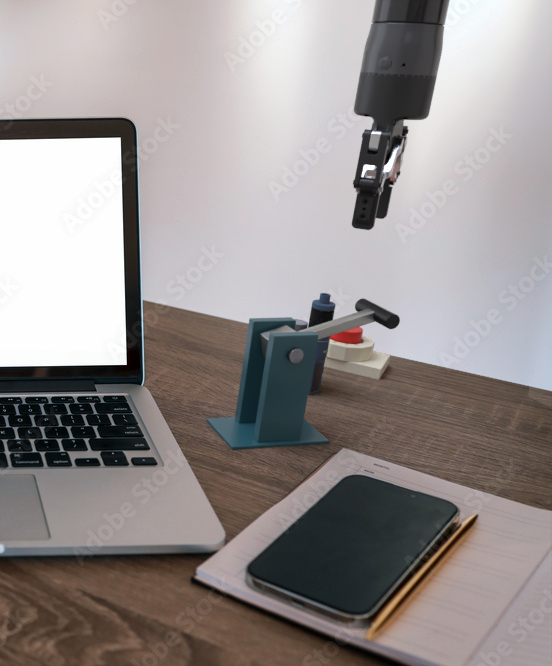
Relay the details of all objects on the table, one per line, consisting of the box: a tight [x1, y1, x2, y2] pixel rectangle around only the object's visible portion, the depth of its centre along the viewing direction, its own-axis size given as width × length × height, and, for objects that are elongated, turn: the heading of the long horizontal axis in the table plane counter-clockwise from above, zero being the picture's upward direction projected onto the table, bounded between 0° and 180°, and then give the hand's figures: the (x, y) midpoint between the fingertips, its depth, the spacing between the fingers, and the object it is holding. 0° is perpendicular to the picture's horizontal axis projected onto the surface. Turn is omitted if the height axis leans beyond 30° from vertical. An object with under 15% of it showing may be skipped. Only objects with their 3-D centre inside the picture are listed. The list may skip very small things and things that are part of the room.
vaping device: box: [293, 292, 336, 396], centre depth 85 cm, size 3×5×12 cm, turn 40°
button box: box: [324, 333, 391, 381], centre depth 94 cm, size 10×6×4 cm, turn 58°
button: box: [330, 326, 364, 344], centre depth 93 cm, size 4×4×2 cm
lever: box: [260, 298, 401, 358], centre depth 73 cm, size 12×5×2 cm, turn 103°
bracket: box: [205, 316, 330, 451], centre depth 74 cm, size 10×6×12 cm, turn 103°
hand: (369, 222), depth 87 cm, fingers open, 8 cm apart
